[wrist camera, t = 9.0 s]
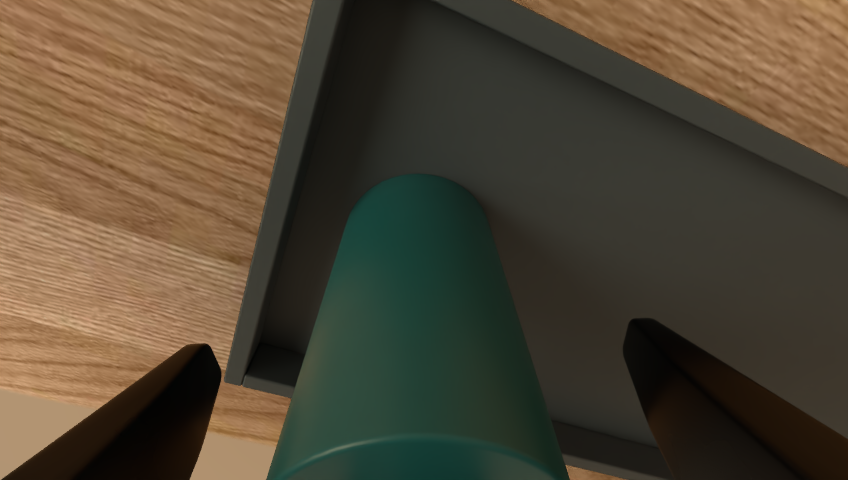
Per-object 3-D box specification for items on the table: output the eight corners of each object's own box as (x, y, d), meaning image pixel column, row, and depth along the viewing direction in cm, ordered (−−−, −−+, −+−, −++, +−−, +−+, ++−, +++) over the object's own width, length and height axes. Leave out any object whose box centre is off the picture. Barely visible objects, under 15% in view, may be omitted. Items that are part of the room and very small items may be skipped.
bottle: (356, 301, 14) (210, 1041, 4) (333, 177, 11) (-134, 1188, 2) (489, 292, 14) (667, 1031, 4) (490, 167, 11) (925, 1171, 2)
